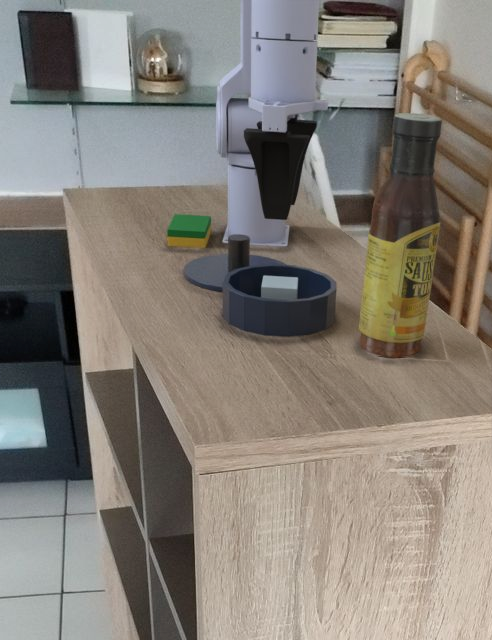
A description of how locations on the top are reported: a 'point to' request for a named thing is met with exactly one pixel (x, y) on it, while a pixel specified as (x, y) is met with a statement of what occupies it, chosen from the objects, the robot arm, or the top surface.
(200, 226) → the scrubber
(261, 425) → the top surface
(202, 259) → the lid
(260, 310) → the pot
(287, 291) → the ice cube
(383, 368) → the top surface
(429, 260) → the sauce bottle
